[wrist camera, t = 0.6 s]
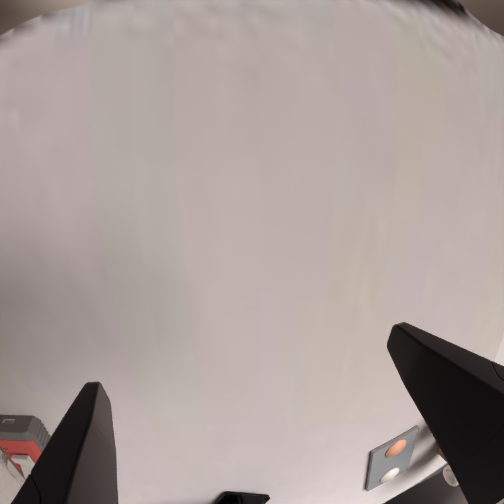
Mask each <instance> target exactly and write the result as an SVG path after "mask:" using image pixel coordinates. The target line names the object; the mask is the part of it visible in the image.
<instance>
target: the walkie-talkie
mask: <svg viewBox="0 0 504 504" xmlns="http://www.w3.org/2000/svg"><path fill="white" fill-rule="evenodd" d="M50 438H51V437H50V435H49V434H48V431H46V428H45V427H44V426H43V424H42V423H41V420H39V419H38V418H36V417H35V416H15V415H0V448H1V450H2V451H3V452H4V454H5V456H6V457H7V458H8V463H7V468H8V470H9V471H10V472H11V473H12V475H13V476H14V477H15V478H16V479H17V480H18V482H19V483H20V485H21V486H22V485H23V484H24V482H25V480H26V478H27V477H28V475H29V474H31V473H30V472H31V470H32V468H33V466H34V465H35V463H36V461H37V460H38V458H39V456H40V455H41V453H42V451H43V450H44V448H45V446H46V445H47V443H48V441H49V440H50Z"/></svg>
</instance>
